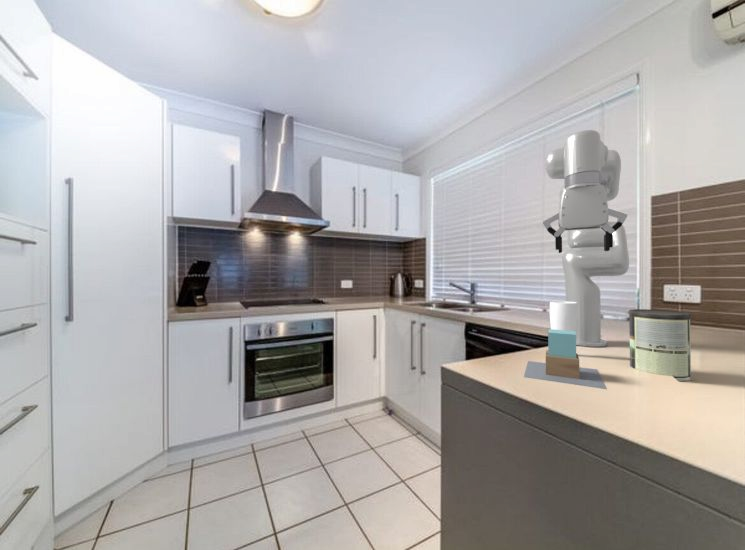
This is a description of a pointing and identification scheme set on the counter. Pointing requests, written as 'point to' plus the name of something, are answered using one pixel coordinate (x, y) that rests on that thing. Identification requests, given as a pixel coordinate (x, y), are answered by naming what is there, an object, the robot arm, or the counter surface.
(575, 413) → the counter surface
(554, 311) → the white cup
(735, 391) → the counter surface
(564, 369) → the walnut base
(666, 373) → the coffee can
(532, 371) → the plate
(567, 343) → the teal block
